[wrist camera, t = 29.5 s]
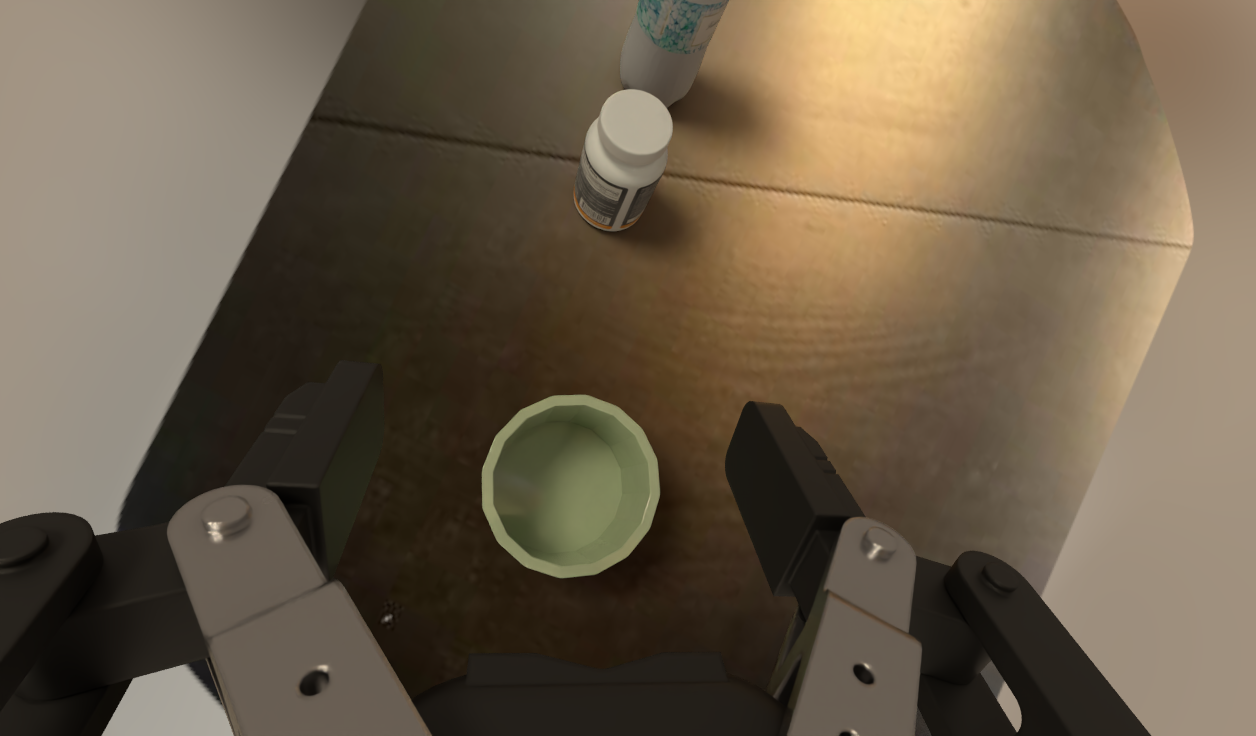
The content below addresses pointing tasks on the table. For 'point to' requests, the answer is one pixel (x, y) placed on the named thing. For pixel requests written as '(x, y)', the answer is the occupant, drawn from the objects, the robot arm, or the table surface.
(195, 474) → the table surface
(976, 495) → the table surface
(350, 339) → the table surface
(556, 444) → the green cup
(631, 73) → the bottle
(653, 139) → the pill bottle
